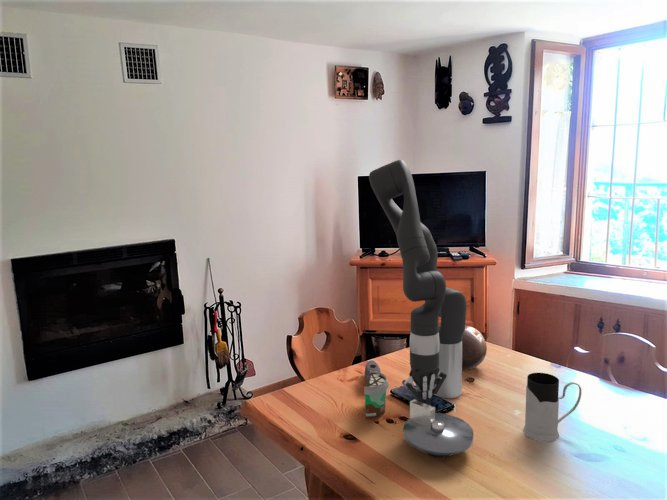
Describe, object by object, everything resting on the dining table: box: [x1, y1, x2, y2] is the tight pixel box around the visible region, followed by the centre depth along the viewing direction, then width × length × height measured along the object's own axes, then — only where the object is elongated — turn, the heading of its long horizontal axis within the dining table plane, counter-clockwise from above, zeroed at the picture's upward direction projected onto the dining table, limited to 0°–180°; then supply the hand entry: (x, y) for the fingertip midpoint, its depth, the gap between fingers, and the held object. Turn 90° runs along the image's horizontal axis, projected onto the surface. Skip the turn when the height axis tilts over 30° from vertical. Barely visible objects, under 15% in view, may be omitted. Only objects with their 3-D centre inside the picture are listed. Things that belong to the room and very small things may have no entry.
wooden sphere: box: [462, 325, 487, 370], centre depth 170 cm, size 15×15×15 cm
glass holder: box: [522, 372, 582, 443], centre depth 127 cm, size 9×14×15 cm, turn 88°
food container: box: [363, 371, 390, 420], centre depth 141 cm, size 12×6×10 cm, turn 168°
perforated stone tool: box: [364, 359, 382, 385], centre depth 161 cm, size 15×5×7 cm, turn 178°
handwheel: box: [402, 399, 474, 456], centre depth 121 cm, size 17×17×7 cm
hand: (424, 410), depth 128 cm, fingers closed
